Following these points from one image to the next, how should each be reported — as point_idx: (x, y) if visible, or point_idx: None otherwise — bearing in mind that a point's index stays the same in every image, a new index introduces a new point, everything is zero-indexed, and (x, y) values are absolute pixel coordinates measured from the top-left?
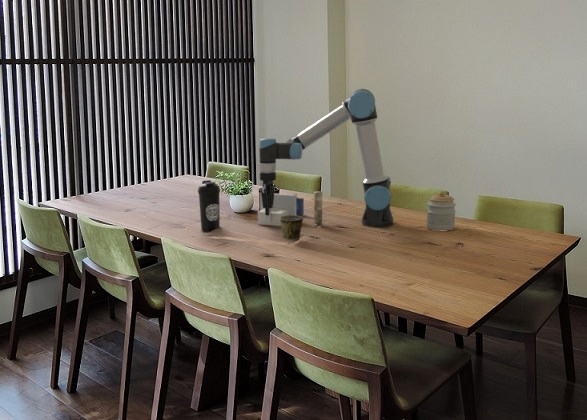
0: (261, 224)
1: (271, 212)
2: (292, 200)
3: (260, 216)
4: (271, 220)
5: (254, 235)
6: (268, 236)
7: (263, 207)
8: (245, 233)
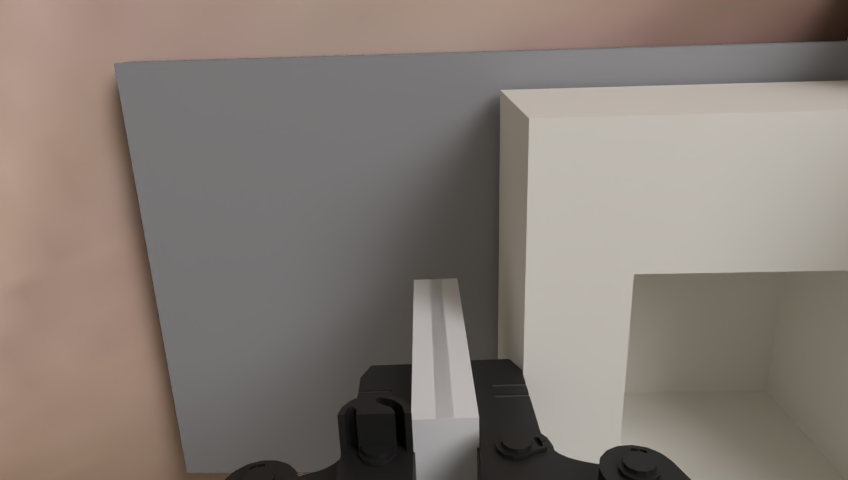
0: (501, 154)
1: (561, 423)
2: None
3: (513, 169)
4: (504, 355)
5: (46, 245)
6: (97, 419)
7: (245, 477)
8: (70, 76)
